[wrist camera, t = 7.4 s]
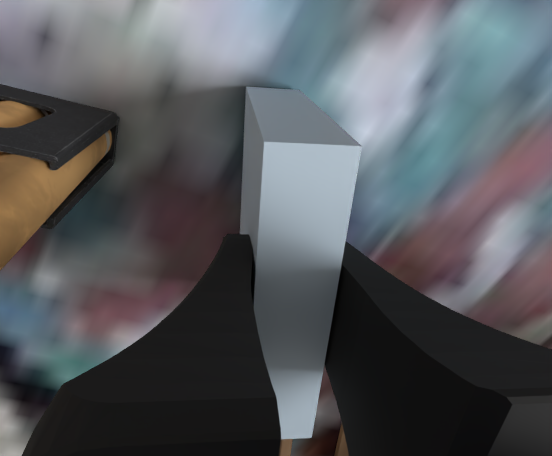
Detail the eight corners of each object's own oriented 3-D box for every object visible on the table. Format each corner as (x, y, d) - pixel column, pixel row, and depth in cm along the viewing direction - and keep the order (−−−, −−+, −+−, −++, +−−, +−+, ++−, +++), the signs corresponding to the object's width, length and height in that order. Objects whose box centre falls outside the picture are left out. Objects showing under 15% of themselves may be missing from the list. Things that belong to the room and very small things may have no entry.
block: (299, 89, 14) (362, 146, 7) (280, 288, 17) (311, 437, 11) (245, 86, 13) (264, 141, 7) (237, 287, 17) (244, 441, 11)
